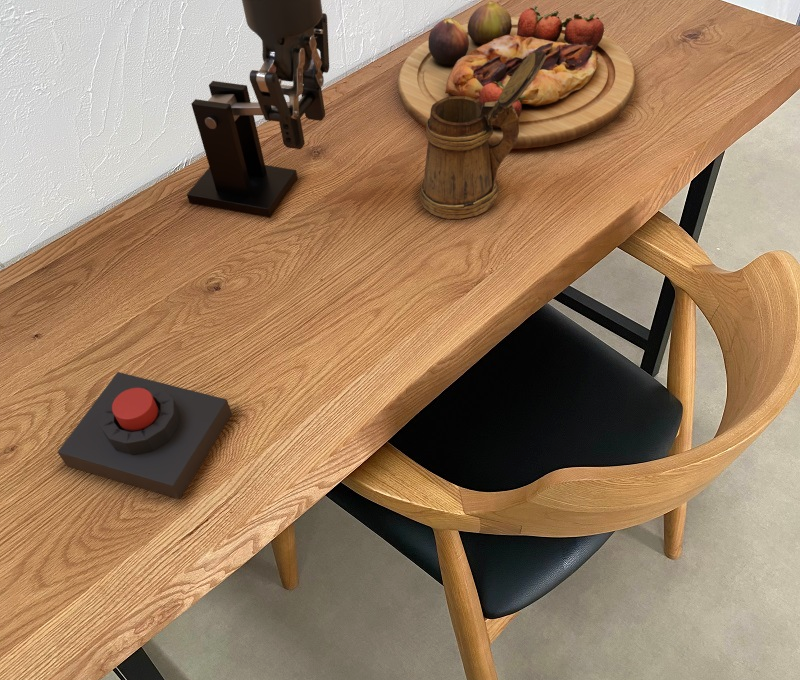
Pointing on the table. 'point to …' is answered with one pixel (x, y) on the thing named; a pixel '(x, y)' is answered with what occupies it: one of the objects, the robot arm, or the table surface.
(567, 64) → the wooden plate
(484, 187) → the wooden mug
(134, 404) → the button
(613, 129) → the table surface
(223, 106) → the bracket
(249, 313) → the table surface
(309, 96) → the lever
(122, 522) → the table surface
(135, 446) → the button box
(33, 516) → the table surface
